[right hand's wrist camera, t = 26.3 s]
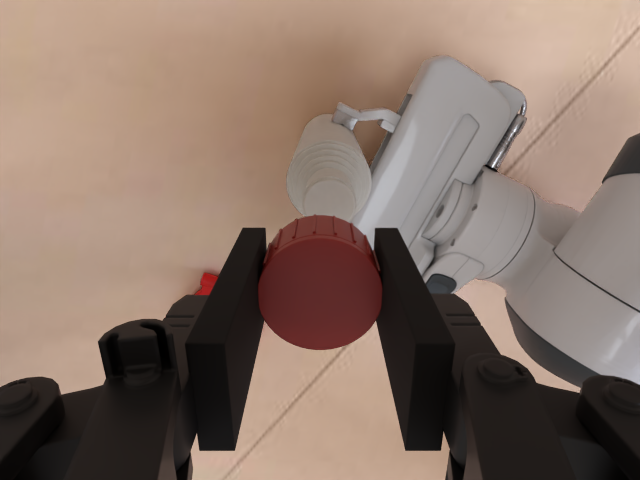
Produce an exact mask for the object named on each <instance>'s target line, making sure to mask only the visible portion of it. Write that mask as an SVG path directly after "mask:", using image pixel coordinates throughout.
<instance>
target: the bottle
mask: <svg viewBox="0 0 640 480" xmlns="http://www.w3.org/2000/svg"><path fill="white" fill-rule="evenodd" d="M332 116H333V114H322V115H319V116H316V117H314V118H313V119H312V120H310V121H309V122H308V124H307V125H306V126H305V128H304V130H303V133H302V135H301V138H300V140H299V143H298V146H297V148H296V151H295V153H294V156H293V158H292V161H291V163H290V166H289V168H288V172H287V177H286V186H287V192H288V195H289V198H290V200H291V202H292V204H293V205H294V207H295V208H296V209H297V210H298V211H299V212H300V213H301V214H302V215H304V216H305V217H307V216H314V214H316V215H327V216H336V217H337V218H340V219H343V220H345V221H347V222H350V221H351V220H352V218H353V217H354V215H355V214H356V213H357V212H359V211H360V210H361V208H362V207H363V206H364V204H365V203H366V201H367V199H368V197H369V194H370V191H371V183H372V180H371V172H370V169H369V166H368V164H367V161H366V159H365V157H364V155H363V153H362V150H361V148H360V146H359V144H358V142H357V139H356V137H355V135H354V133H353V130H349V129H347V128H346V127H344V125H343V124H337V123H335V122H333V121H331V119H332Z"/></svg>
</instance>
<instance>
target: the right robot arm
mask: <svg viewBox="0 0 640 480" xmlns="http://www.w3.org/2000/svg"><path fill="white" fill-rule="evenodd" d="M374 250H375V254H376V257H377V260H378V263H379V267H380V270H381V273H379V274H380V277H381V281H382V304H381V310H380V313H379V315H378V317H377V319H376V322H377V327H378V331H379V336H380V340H381V345H382V349H383V353H384V358H385V362H386V367H387V371H388V376H389V380H390V384H391V389H392V393H393V398H394V402H395V407H396V411H397V415H398V420H399V424H400V429H401V433H402V437H403V442H404V446H405V451H441V445H442V438H443V431H444V433H445V436H446V439H447V442H448V445H449V448H450V452H449V459H448V465H447V472H446V479H445V480H640V385H639V384H637V383H635V382H633V381H630V380H627V379H623V378H621V377H616V376H608V375H596V376H591V377H588V378H587V379H586V380H585V381H584V382H583V383H582V387H581V390H580V393H577V392H572V391H568V390H563V389H558V388H553V387H549V386H545V385H542V384H538V383H536V381H535V379H534V377H533V376H532V374H531V373H530V371H529V370H528V369H527V368H526V367H524V366H523V365H522V364H520V363H519V362H518V361H515V360H513V359H511V358H509V357H506V356H503V355H501V354H500V353H499V351H498V350H497V348H496V347H495V345H494V343H493V342H492V340H491V339H490V337H489V336H488V334H487V333H486V331H485V329H484V328H483V326H481V323H480V322H479V320H478V319H477V317H476V316H475V314H474V312H473V311H472V309H471V308H470V306H469V305H468V303H467V302H465V301H464V300H462V299H461V298H460V297H458V296H457V295H455V294H430V292H429V290H428V288H427V286H426V284H425V282H424V280H423V278H422V276H421V274H420V272H419V270H418V268H417V266H416V264H415V262H414V260H413V258H412V256H411V254H410V252H409V250H408V248H407V246H406V244H405V242H404V240H403V238H402V236H401V234H400V232H399V230H398V228H375V235H374ZM266 251H267V249H266V229H265V228H243V229H242V231H241V233H240V235H239V237H238V239H237V241H236V243H235V245H234V246H233V248H232V250H231V252H230V254H229V256H228V258H227V260H226V262H225V264H224V266H223V268H222V270H221V272H220V274H219V276H218V278H217V280H216V282H215V284H214V286H213V288H212V290H211V292H210V294H209V295H186V296H184V297H183V298H181V299H180V300H179V301H177V302H176V303H174V304H173V305H172V307H171V308H170V310H169V311H168V313H167V315H166V318H164V319H163V321H161V320H157V319H140V320H135V321H130V322H127V323H124V324H121V325H119V326H116V327H114V328H113V329H111V330H110V331H108V332H106V333H105V334H104V335H103V336H102V337H101V339H100V340H99V341H98V344H99V349H100V353H101V358H102V362H103V366H104V371H105V375H106V380H105V382H104V384H103V385H101V386H98V387H94V388H91V389H86V390H81V391H77V392H72V393H67V394H63V395H61V392H60V389H59V385H58V384H57V383H56V382H55V381H54V380H53V379H51V378H46V377H31V378H24V379H20V380H16V381H13V382H10V383H8V384H6V385H4V386H2V387H0V480H192V473H193V466H192V459H191V452H190V451H191V448H192V445H193V442H194V439H195V436H196V434H197V436H198V443H199V451H235V448H236V443H237V439H238V434H239V430H240V425H241V421H242V417H243V412H244V408H245V403H246V399H247V394H248V390H249V386H250V381H251V377H252V372H253V368H254V364H255V359H256V355H257V350H258V346H259V341H260V337H261V333H262V328H263V324H264V318H263V316H262V314H261V312H260V309H259V298H258V282H259V278H260V275H261V272H262V268H263V261H264V258H265V254H266Z"/></svg>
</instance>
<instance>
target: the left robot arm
mask: <svg viewBox="0 0 640 480" xmlns="http://www.w3.org/2000/svg"><path fill="white" fill-rule="evenodd" d="M520 108H521V111H520V114H517V113H518V111H519V109H520ZM526 110H527V102H526V98H525V96H524V94H523V93H522V92H521V91H520V90H519V89H517V88H515V87H513V86H512V85H510V84H508V83H506V82H504V81H501V80H492V81H487V80H486V79H484V78H483V77H482V76H480V75H479V74H478V73H476V72H475V71H473V70H472V69H470V68H469V67H467V66H466V65H464V64H463V63H461V62H459V61H458V60H456V59H454V58H452V57H450V56H447V55H438V56H434V57H431V58H429V59H426V60H425V61H423V63H422V64H421V66H420V68H419V70H418V72H417V74H416V76H415V78H414V80H413V82H412V84H411V86H410V88H409V90H408V92H407V94H406V96H405V98H404V100H403V102H402V104H401V106H400V108H399V110H398V112H397V113H395V112H393V111H391V110H389V109H387V108H385V107H381V108H371V109H362V110H359V111H358V110H356V109H354V108H352V107H350V106H348V105H345V104H343V103H341V102H339V103H338V105H337V107H336V109H335V112H334V114H333V116H332V119H331V121H333V122H335V123H337V124H343V125H344V127H346V128H347V129H349V130H353V128H354V126H355V124H356V122H357V121H367V120H378V122H377V123H378V125H379V126H380V127H382V128H384V129H386V130H388V131H387V133H386V135H385V137H384V139H383V141H382V143H381V145H380V147H379V149H378V151H377V153H376V155H375V157H374V159H373V161H372V163H371V165H370V167H369V169H370V172H371V180H372V183H371V191H370V194H369V197H368V199H367V201H366V203H365V204H364V206H363V207H362V208H361V210H360V211H359V212H357V213H356V214H355V215H354V217H353V218H352V220H351V221H350V222H349V223H353V225H354V226H355V227H356V228H358V229H359V230H360V231H361V232H362V233H363V234H364V235H365V234H366V236H367V239H368V241H369V243H370V245H371V248H372V250H374V235H375V228H398V230H399V232H400V234H401V236H402V238H403V240H404V242H405V244H406V246H407V248H408V250H409V252H410V254H411V256H412V258H413V260H414V262H415V264H416V266H417V268H418V270H419V272H420V274H421V276H422V278H423V280H424V282H425V284H426V286H427V288H428V290H429V292H430V294H454V293H455V292H456V291H458V290H459V289H460V288H461V287H463V286H464V285H466V284H467V283H468V282H470V281H471V280H473V279H474V278H475V279H478V280H484V281H489V282H493V283H496V284H498V285H499V286H501V287H502V288H503V289H505V291H506V293H507V296H506V297H505V304H506V308H507V312H508V315H509V318H510V321H511V324H512V327H513V330H514V333H515V336H516V338H517V340H518V342H519V344H520V345H521V347H522V348H523V349H524V351H525V352H526V353H527V354H528V355H529V356H530V357H531V358H532V359H533V360H534V361H535V362H536V363H538V364H539V365H540V366H542V367H543V368H545V369H546V370H548V371H549V372H551V373H553V374H554V375H556V376H558V377H560V378H562V379H563V380H565V381H567V382H569V383H571V384H573V385H576V386H578V387H580V388H581V387H582V383H583V382H584V381H585V380H586V379H587V378H588V377H591V376H596V375H608V376H616V377H621V378H623V379H627V380H630V381H633V382H635V383H637V384H639V385H640V133H639V134H637V135H635V136H632V137H630V138H629V139H627V141H626V143H625V144H624V146H623V148H622V149H621V151H620V153H619V154H618V156H617V157H616V159H615V161H614V162H613V164H612V166H611V167H610V169H609V171H608V172H607V174H606V175H605V177H604V179H603V181H602V185H601V187H600V188H599V190H598V191H597V192H596V194H595V195H594V196H593V198H592V199H591V200H590V202H589V203H588V205H587V206H586V207H585V209H584V210H583V211H582V213H581V212H579V211H577V210H575V209H573V208H571V207H568V206H565V205H561V204H554V203H550V202H547V201H545V200H544V199H542V198H541V197H540V196H539V195H538V194H537V193H536V192H535V191H533V190H532V189H531V188H529V187H527V186H525V185H523V184H521V183H519V182H517V181H515V180H513V179H511V178H509V177H507V176H505V175H503V174H501V173H499V172H498V171H497V170H498V168H499V167H500V165H501V163H502V162H503V160H504V158H505V157H506V155H507V153H508V151H509V149H510V146H511V145H512V142H513V141H514V139H515V138H516V136H517V135H519V133H520V132H521V131H522V129H523V128H524V126H525V123H526V121H527V118H526V117H524V116H525V114H526ZM484 164H485V165H484Z"/></svg>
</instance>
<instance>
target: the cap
mask: <svg viewBox="0 0 640 480" xmlns="http://www.w3.org/2000/svg"><path fill="white" fill-rule="evenodd" d="M379 273H381V270H380V267H379V263H378V260H377V257H376V254H375V250H372V248H371V245H370V243H369V241H368V239H367V236H366V234H365V235H364V234H363V233H362V232H361V231H360V230H359V229H358V228H356V227H355V226H354V225H353V223H349V222H347V221H345V220H343V219H340V218H337V217H336V216H327V215H316V214H314V216H307V217H304V218H300V219H295V221H294V222H292V223H290V224H288V225H287V226H286V227H284V228H283V229H280V230H279V233H278V234H277V235H276V236H275V238H274V239H273V241H272V243H269V245H268V248H267V251H266V254H265V258H264V261H263V268H262V272H261V275H260V278H259V282H258V298H259V309H260V312H261V314H262V316H263V318H264V320H265V322H266V323H267V324H268V326H269V327H270V328H271V329H272V330H273V331H274V333H276V334H277V335H278V336H279V337H281V338H282V339H284V340H285V341H287V342H289V343H291V344H293V345H296V346H299V347H302V348H306V349H313V350H327V349H334V348H339V347H342V346H345V345H347V344H349V343H352V342H354V341H355V340H357V339H358V338H360V337H361V336H362V335H364V334H365V333H366V332H367V331H368V330H369V329H370V328H371V327H372V325H373V324H374V322H375V321H376V319H377V317H378V315H379V313H380V310H381V304H382V281H381V277H380V274H379Z"/></svg>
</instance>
